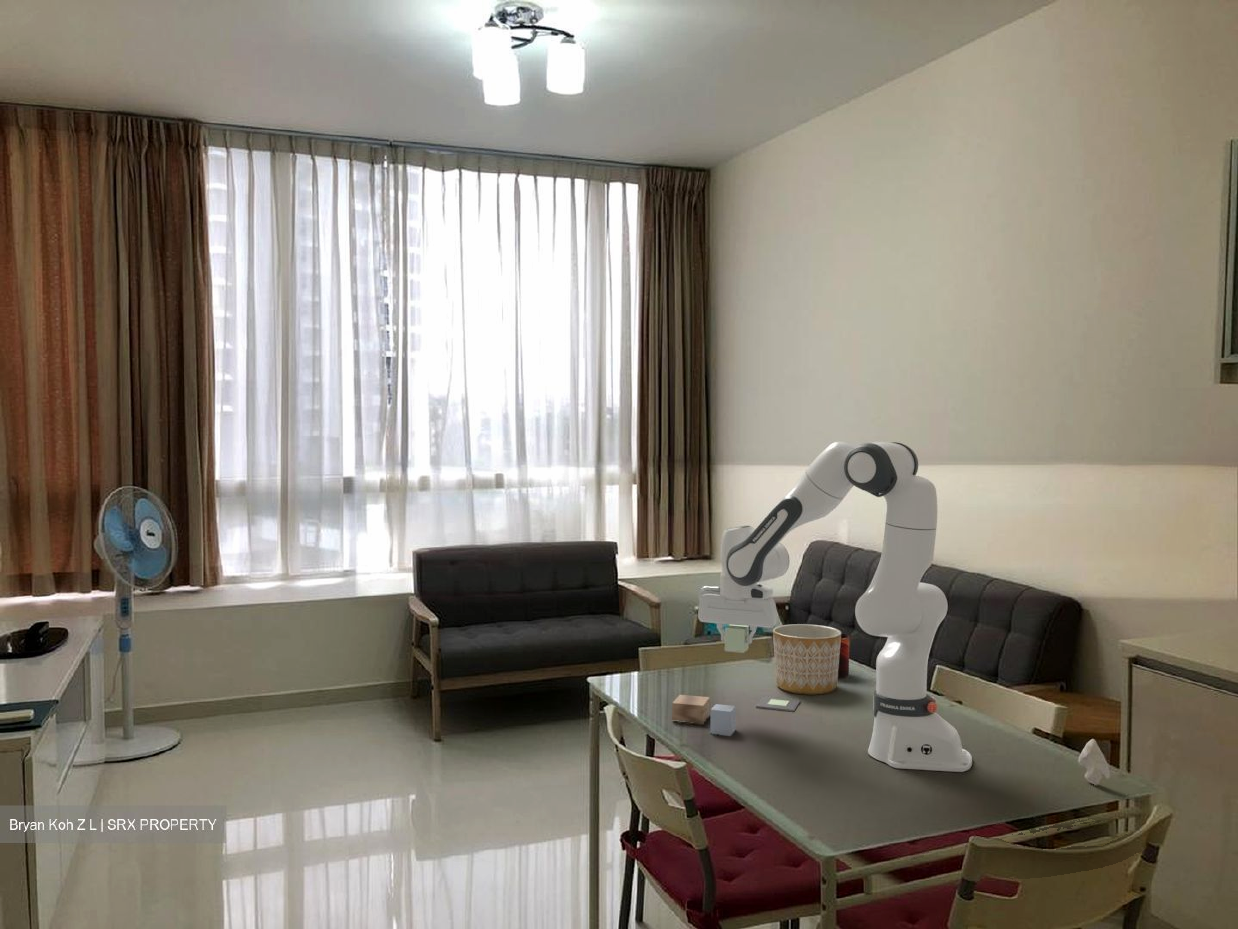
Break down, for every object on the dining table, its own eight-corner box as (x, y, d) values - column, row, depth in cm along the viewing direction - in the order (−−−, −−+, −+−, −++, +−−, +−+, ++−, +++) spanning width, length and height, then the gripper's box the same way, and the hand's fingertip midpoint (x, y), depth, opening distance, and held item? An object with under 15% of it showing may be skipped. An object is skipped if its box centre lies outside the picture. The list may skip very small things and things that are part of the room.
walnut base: (709, 716, 249) (709, 697, 249) (703, 725, 241) (703, 705, 241) (679, 713, 251) (679, 694, 251) (672, 722, 244) (672, 703, 244)
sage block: (748, 648, 249) (748, 625, 249) (743, 653, 244) (744, 629, 244) (729, 647, 251) (730, 624, 250) (724, 651, 246) (725, 627, 246)
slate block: (735, 730, 237) (735, 706, 237) (730, 736, 232) (730, 711, 232) (715, 728, 239) (715, 704, 239) (710, 734, 234) (710, 709, 234)
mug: (837, 667, 300) (837, 629, 300) (853, 678, 287) (854, 638, 286) (807, 668, 299) (807, 630, 299) (822, 679, 285) (823, 639, 285)
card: (800, 701, 262) (800, 699, 262) (793, 711, 252) (793, 709, 252) (764, 698, 265) (764, 695, 265) (756, 707, 256) (756, 705, 256)
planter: (767, 679, 286) (768, 624, 285) (832, 679, 286) (833, 624, 285) (778, 697, 267) (778, 638, 266) (847, 697, 266) (848, 638, 266)
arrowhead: (1073, 779, 204) (1074, 733, 203) (1082, 778, 205) (1083, 731, 204) (1104, 793, 196) (1105, 744, 196) (1114, 791, 197) (1115, 743, 197)
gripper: (694, 587, 248) (694, 640, 248) (773, 593, 240) (772, 648, 241) (701, 583, 254) (701, 635, 254) (778, 589, 246) (777, 642, 247)
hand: (736, 641), depth 247 cm, fingers closed on sage block, 5 cm apart
